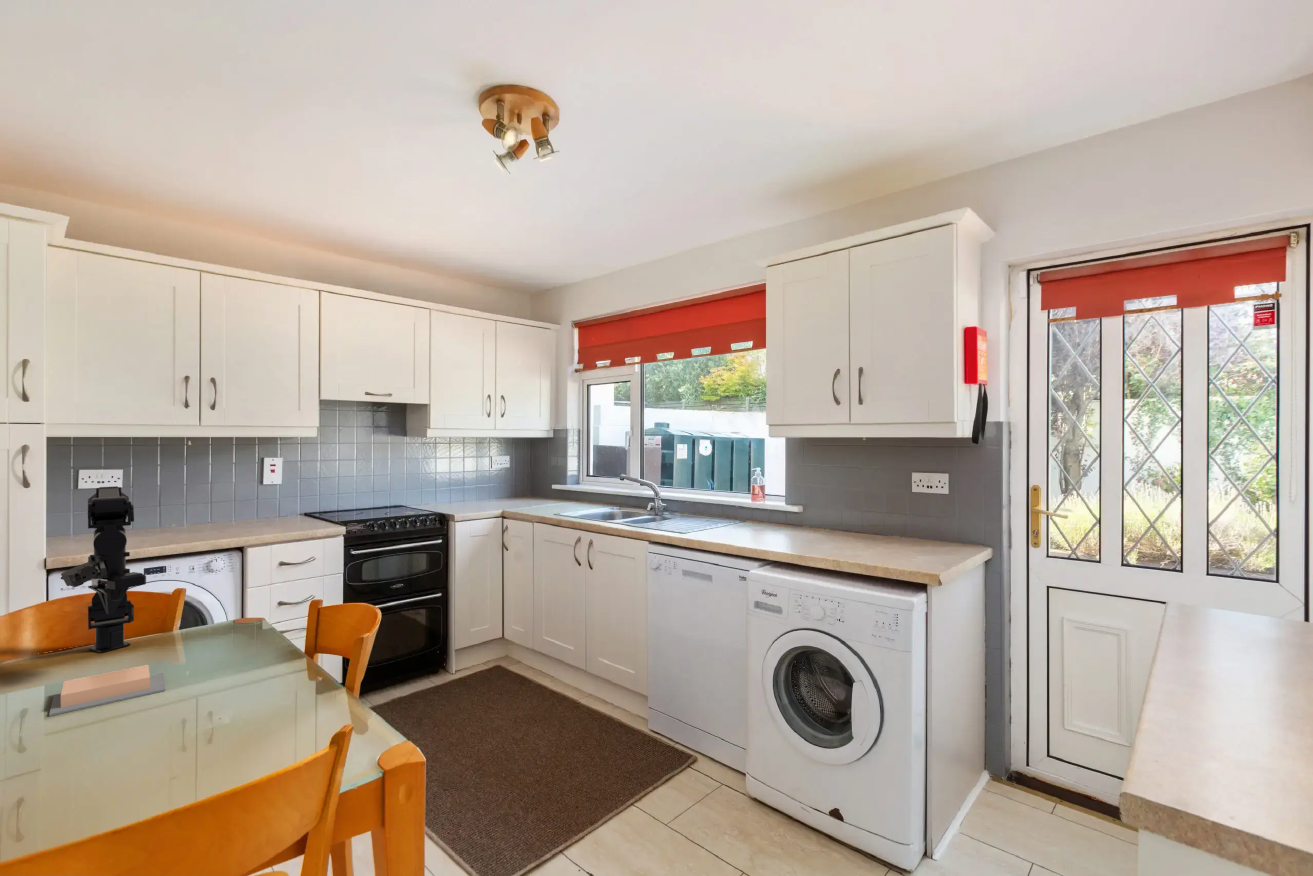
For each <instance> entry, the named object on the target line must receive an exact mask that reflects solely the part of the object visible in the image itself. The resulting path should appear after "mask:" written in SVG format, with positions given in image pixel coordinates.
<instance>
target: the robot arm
mask: <svg viewBox="0 0 1313 876" xmlns="http://www.w3.org/2000/svg"><path fill="white" fill-rule="evenodd" d="M134 509H135V508H134V505H133V504H132V502H131V501H130V497H129V496H128V495H127V494H125V493H124V492H122V486H100V487H97V488H96V489H95V493H94V494H93V495H92V496H91V497H89V498H87V529H88V530H89V529H94V531H93V542H92V543H93V544H92V545H93V553H92V554H90V555H89V556H88V558H87V562H85V563H82V564H79V565H77V566H74V567H71V568H70V569H67V570H66V571H63V572H61V573H60V576H61V578H62V579H63V581H64V583H65V586H66V587H69V586H70V587H72V588H77V587H80V586H82V585H84V584H85V583H87V582H89V581H91V585H87V588H88V589H89V590H93V591H94V592H95V594H94V595H93V596H92V597H91V605H88V606H87V616H88V617H87V624H88V625H87V627H88V628H87V629H88V631H89V630H92V629H94V638H95V640H94V641H95V643H94V644H95V645H94V646H95V647H93V646H90V647H91V648H89V647H88V650H89V651H93V652H97V653H105V652H109V651H113V650H116V649H120V648H125V647H127V646H131V642H127V641H125V624H131V623H132V622H134V621H135V615H134V614H135V604H133V603H132V601H131V599H130V600H128V594H127V591H129V589H130V588H133V587H139V586H144V585H146V584H147V575H145V574H144V573H142V572H137V571H133V572H131V571H130V570H131V568H126V564H127V563H126V561H127V559H126V558H127V557H130V555H131V552H130V551H126V545H127V541H128V540H127V536H126V529H125V527H126V526H127V527H128V526H131V525H132V522H133V523H134V522H135V512H134Z"/></svg>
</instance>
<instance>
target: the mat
mask: <svg viewBox="0 0 1313 876" xmlns="http://www.w3.org/2000/svg"><path fill="white" fill-rule="evenodd" d="M163 674H164V673H157V674H153V675H150V689H145V690H141V691H136V692H131V693H127V694H122V695H117V696H113V697H108V698H103V699H99V700H94V701H89V702H85V703H80V704H75V705H71V706H66V707H62V708H61V693H60V694H55V695H53V698H52V702H51V705H50V709H49V713H48V717H53V716H59V715H62V714H67V713H72V712H75V711H76V712H77V711H80V710H86V709H89V708H95V707H99V706H102V705H108V704H112V703H116V702H121V701H126V700H129V699H130V700H131V699H134V698H139V697H144V696H148V695H153V694H158V693H161V692H166V685H165V679H164V675H163Z"/></svg>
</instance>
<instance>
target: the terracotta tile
mask: <svg viewBox="0 0 1313 876" xmlns="http://www.w3.org/2000/svg"><path fill="white" fill-rule="evenodd" d="M150 676H151V674H150V666H149V664H145V665H139V666H134V667H130V668H125V669H119V670H114V671H108V672H104V673H99V674H93V675H88V676H83V677H78V678H71V679H68V680H64V681H63V684H62V689H61V693H60V694H61V708H62V707H66V706H71V705H75V704H80V703H85V702H89V701H94V700H99V699H103V698H108V697H113V696H117V695H122V694H127V693H131V692H136V691H141V690H145V689H150Z"/></svg>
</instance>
